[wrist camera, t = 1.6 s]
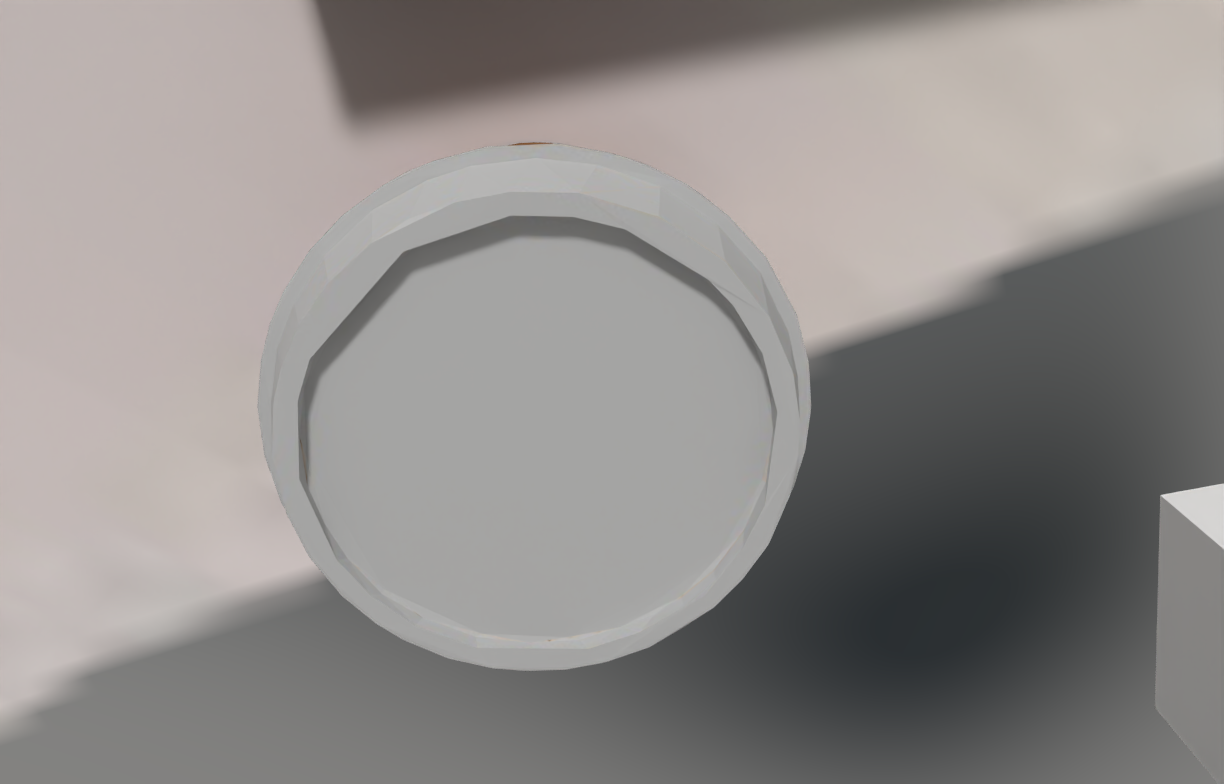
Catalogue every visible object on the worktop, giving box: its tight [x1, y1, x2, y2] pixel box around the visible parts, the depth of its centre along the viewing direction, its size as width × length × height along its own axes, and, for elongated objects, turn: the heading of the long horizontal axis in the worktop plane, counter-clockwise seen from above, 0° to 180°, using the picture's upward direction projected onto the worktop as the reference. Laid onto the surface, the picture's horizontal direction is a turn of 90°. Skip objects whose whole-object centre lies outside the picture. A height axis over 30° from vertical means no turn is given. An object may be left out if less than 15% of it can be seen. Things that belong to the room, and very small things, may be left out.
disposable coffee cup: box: [258, 143, 811, 671], centre depth 23 cm, size 10×10×12 cm
